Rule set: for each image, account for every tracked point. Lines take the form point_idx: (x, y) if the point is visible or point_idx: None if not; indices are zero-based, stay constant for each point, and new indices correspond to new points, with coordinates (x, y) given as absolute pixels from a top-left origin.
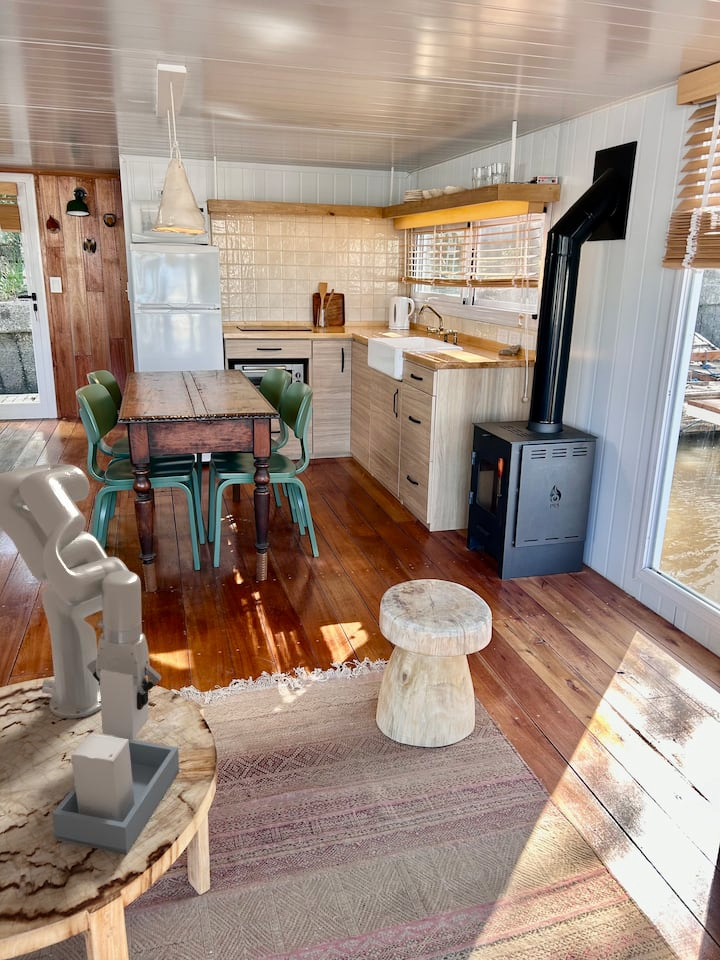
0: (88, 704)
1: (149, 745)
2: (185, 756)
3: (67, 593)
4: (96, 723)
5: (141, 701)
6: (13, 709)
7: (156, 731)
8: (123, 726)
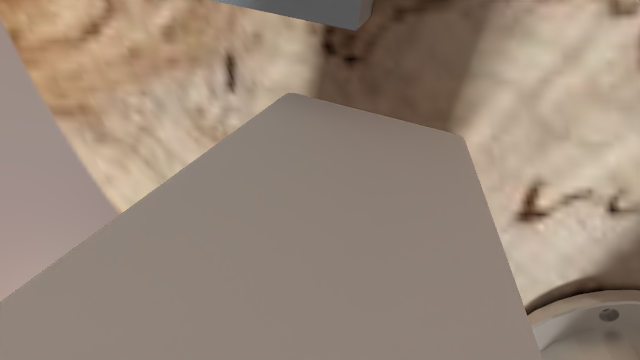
0: (568, 349)
1: None
2: (99, 62)
3: None
4: (512, 257)
5: None
6: None
7: None
8: (320, 125)
